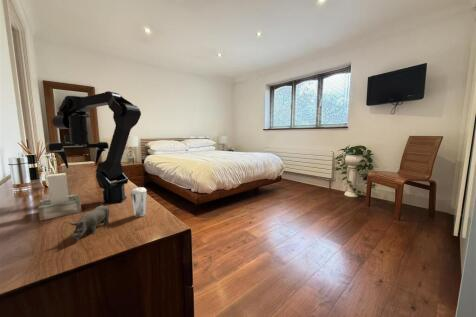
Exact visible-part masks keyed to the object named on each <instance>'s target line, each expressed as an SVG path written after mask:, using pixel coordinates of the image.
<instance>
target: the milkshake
mask: <svg viewBox="0 0 476 317" xmlns="http://www.w3.org/2000/svg"><path fill="white" fill-rule="evenodd" d="M127 186H128V188H129V190H130V196H131V200H132V207H133V213H134V217H136V218H141V217H145V216H146V214H147V191H148V190H147V188H145V187H143V186H142V187H141V186H138V187H134V189H133V188H132V189H131V187H130V185H127Z"/></svg>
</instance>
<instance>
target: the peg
mask: <svg viewBox="0 0 476 317" xmlns="http://www.w3.org/2000/svg"><path fill="white" fill-rule="evenodd" d="M46 177H47V182H48V184H47V186H48V191H49V199H50V201H51V205H52V204H58V203H63V202H69V196H70V195H69V190H68V189H69V188H68V181H67V180H68V179H67V174H66V172H62V173H52V174H51V173H50V174H47V176H46Z"/></svg>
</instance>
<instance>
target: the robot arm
mask: <svg viewBox="0 0 476 317" xmlns="http://www.w3.org/2000/svg"><path fill="white" fill-rule="evenodd" d="M104 106H108V109H109V110H110V111H111V112H113V114H112V116H113V117H112V119H113V121H114V124H115V126H114V127H115V128H114V131H113V134H112V138H111V140H110V145H109V142H107V141H96V142H94V143H90V141H89V139H90V138H89V129H88V118H91V117H92V116H91V115H90V114H89V113H88V112H90V111H91V110H92V109H94V108H97V107H99V108H100V107H104ZM141 115H142V112H141V109H140V107H138V105H134V104H133V103H132V102H130V101H129V100H127V99H125V97H123V96H122V95H121V94H120V93H117V92H113V91H109V90H108V91H105V92H101V93H100V92H99V93H97V94H92V95H91V94H90V95H86V96H77V95H66V96H65V97H64V99H63V100H62V101H61V105H60V106H59V108H58V111H57V112H56V115H55V116H53V117H52V119H51V123H52V126H54V127H55V128H56V129H60V130H65V129H66V130H67V129H68V130H69V134H64V135H63V137H64V144H63V142H49V143H48V144H47V145H48V151H49V152H50V151H51V152H53V153H54V154H58V155H59V157H60V158H61V159H62V162H63V163H64V165H65V167H66V169H69V162H68V160H67V156H66V152H65V150H66V149H69V150H70V149H89V148H90V149H94V166H95V167H96V169H95V172H96V173H95V178H96V181H97V183H98V188H100V189H103V190H102V199H103V202H102V203H103V204H117V203H118V204H119V203H123V202H124V201H125V200H126V199H127V196H126V193H125V192H126V190H125V185H126V184H128V182H129V178H128V177H127V176H126V175H125V173H124V172H123V171H124V168H123V165H122V159H123V155H124V153H125V149H126V147H127V146H126V145H127V144H128V140H129V136H130V133H131V130H132V129H133V128H134V127H135V126H136V125H137V124H138V122H139V120H140V118H141V117H142V116H141ZM106 149H107V150H108V152H107V154H106V158H105V160H104V161H99V160H100V158H101V155H102V154H103V152H106ZM103 204H102V205H103Z"/></svg>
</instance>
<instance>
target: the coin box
mask: <svg viewBox="0 0 476 317" xmlns="http://www.w3.org/2000/svg"><path fill="white" fill-rule="evenodd" d="M68 196H69V202H63V203H58V204H52V205H51V201H50V198H46V199H39V204H38V215H39V221H44V220H49V219H53V218H58V217H62V216H69V215H72V214H78V213H81V212H82V206H81V205H82V204H81V199H80V197H79V194H78V193H77V194H71V195H68Z"/></svg>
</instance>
